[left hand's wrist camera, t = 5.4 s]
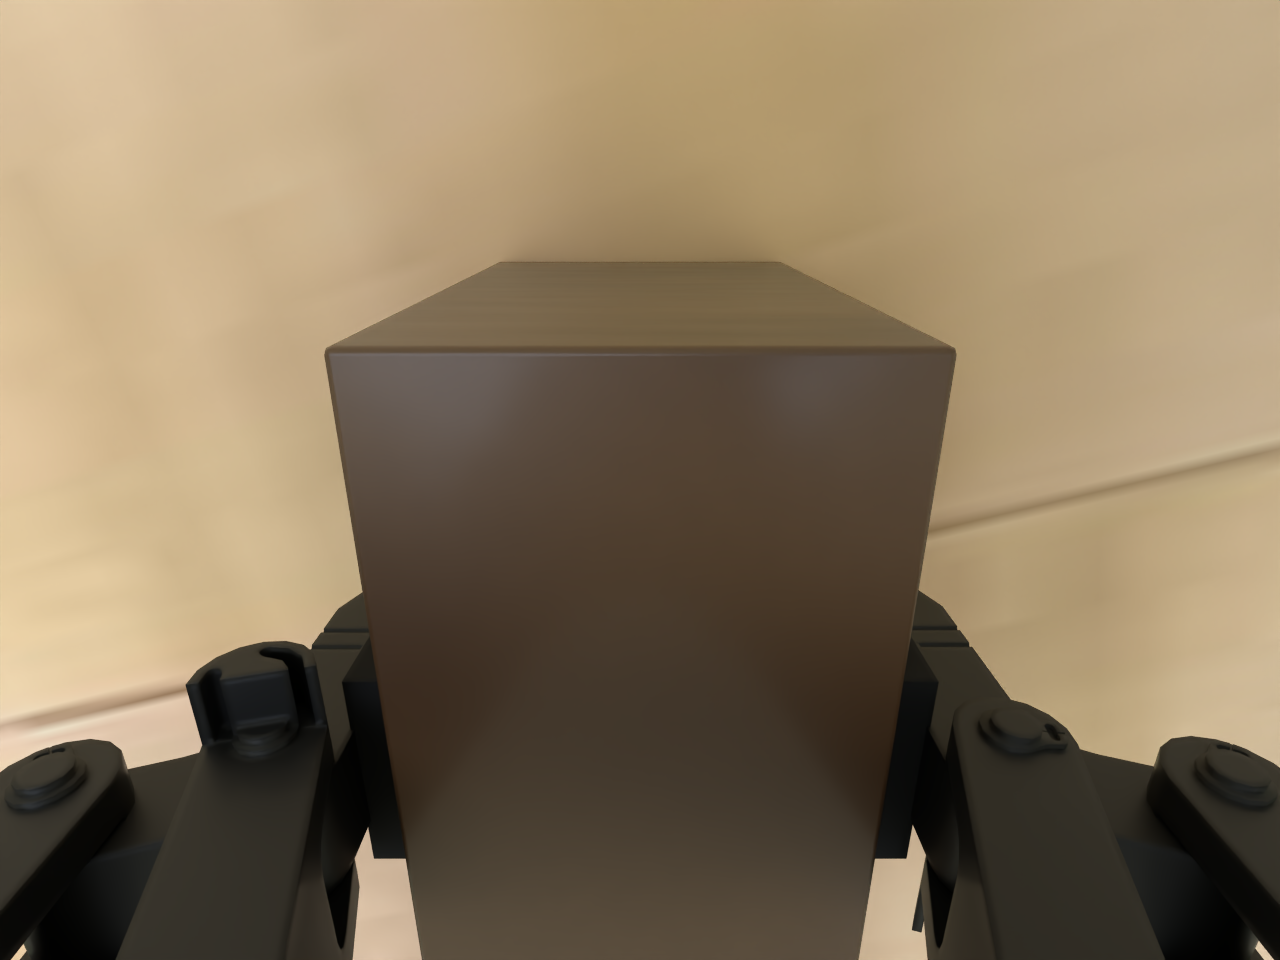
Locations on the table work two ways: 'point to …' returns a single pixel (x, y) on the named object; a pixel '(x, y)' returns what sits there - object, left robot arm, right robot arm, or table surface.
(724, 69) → the table surface
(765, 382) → the beam
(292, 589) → the table surface
